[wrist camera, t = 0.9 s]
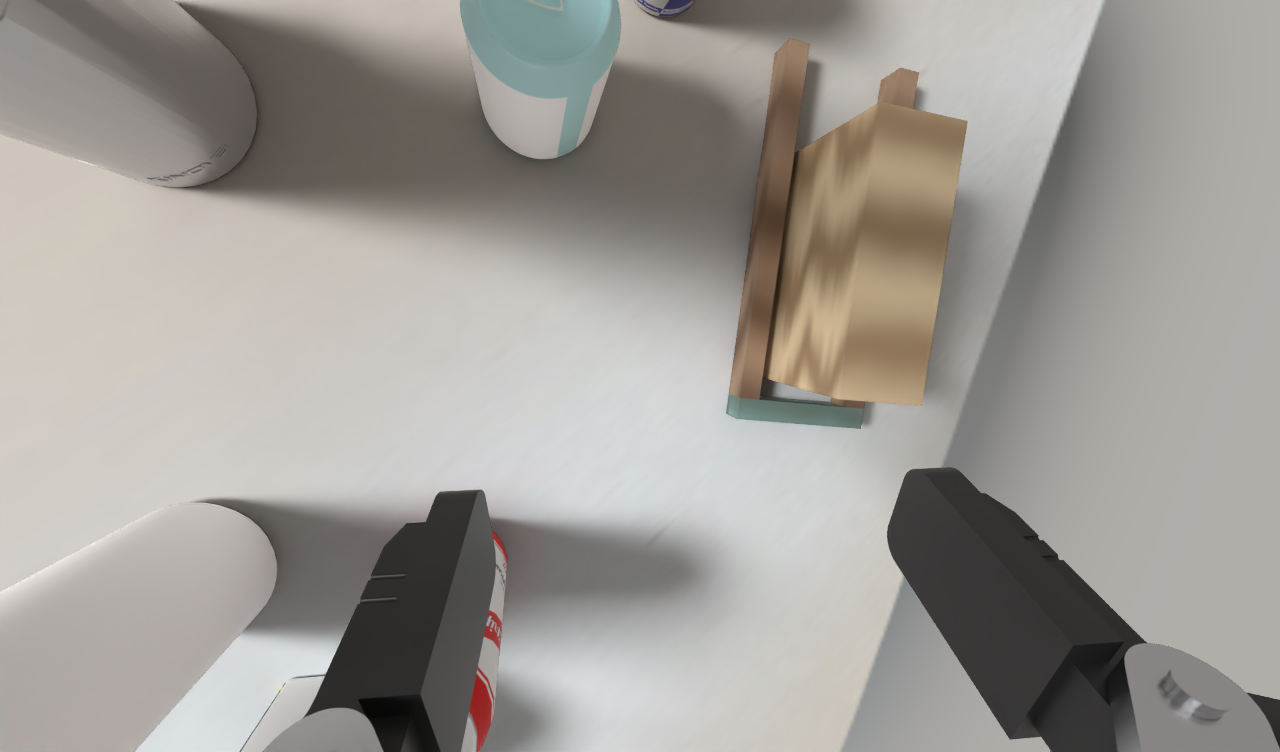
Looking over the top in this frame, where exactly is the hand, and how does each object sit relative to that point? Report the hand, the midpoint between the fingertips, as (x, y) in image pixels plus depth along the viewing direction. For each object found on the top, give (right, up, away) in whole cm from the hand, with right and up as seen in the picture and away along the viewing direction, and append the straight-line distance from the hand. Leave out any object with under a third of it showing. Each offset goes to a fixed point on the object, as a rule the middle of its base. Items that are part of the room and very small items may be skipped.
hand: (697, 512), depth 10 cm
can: (-8, +20, +23) cm, 32 cm away
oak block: (+11, +10, +28) cm, 32 cm away
